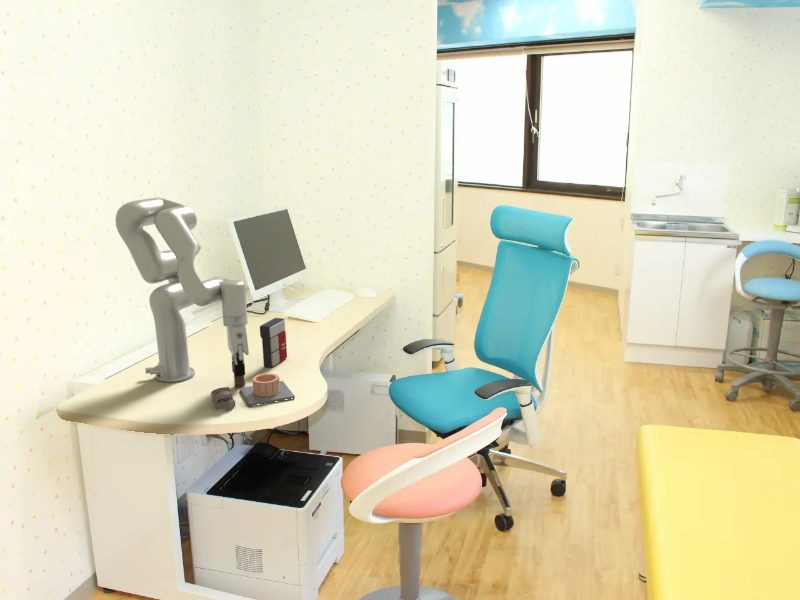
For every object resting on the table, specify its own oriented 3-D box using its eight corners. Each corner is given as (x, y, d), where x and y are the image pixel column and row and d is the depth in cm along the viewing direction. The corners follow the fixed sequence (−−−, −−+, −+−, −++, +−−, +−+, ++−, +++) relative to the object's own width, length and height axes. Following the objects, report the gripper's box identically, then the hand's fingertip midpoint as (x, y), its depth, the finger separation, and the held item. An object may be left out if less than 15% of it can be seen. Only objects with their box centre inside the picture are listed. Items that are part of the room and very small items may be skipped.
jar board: (249, 406, 214) (248, 389, 212) (240, 390, 226) (238, 374, 225) (294, 398, 219) (293, 381, 218) (282, 383, 232) (281, 367, 230)
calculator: (273, 368, 246) (270, 327, 242) (262, 367, 247) (259, 325, 243) (288, 358, 256) (286, 318, 252) (278, 357, 257) (275, 317, 253)
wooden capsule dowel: (235, 387, 228) (233, 352, 225) (233, 384, 231) (231, 349, 228) (245, 386, 229) (243, 351, 226) (243, 383, 232) (241, 348, 229)
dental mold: (212, 402, 218) (210, 387, 217) (235, 400, 219) (234, 384, 218) (211, 412, 210) (210, 397, 209) (235, 410, 212) (234, 394, 211)
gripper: (252, 324, 219) (256, 380, 223) (241, 311, 233) (245, 364, 238) (228, 327, 216) (232, 384, 220) (218, 314, 230) (222, 367, 235)
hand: (238, 373), depth 229 cm, fingers closed on wooden capsule dowel, 3 cm apart
